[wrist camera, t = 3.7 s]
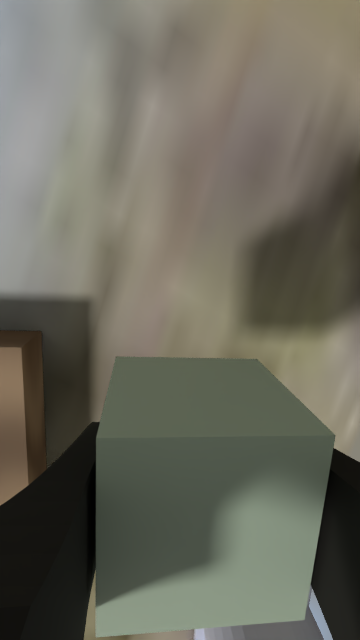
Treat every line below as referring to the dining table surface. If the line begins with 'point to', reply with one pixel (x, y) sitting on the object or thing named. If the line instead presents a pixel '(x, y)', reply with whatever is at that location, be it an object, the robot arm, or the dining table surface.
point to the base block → (21, 411)
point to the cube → (205, 496)
